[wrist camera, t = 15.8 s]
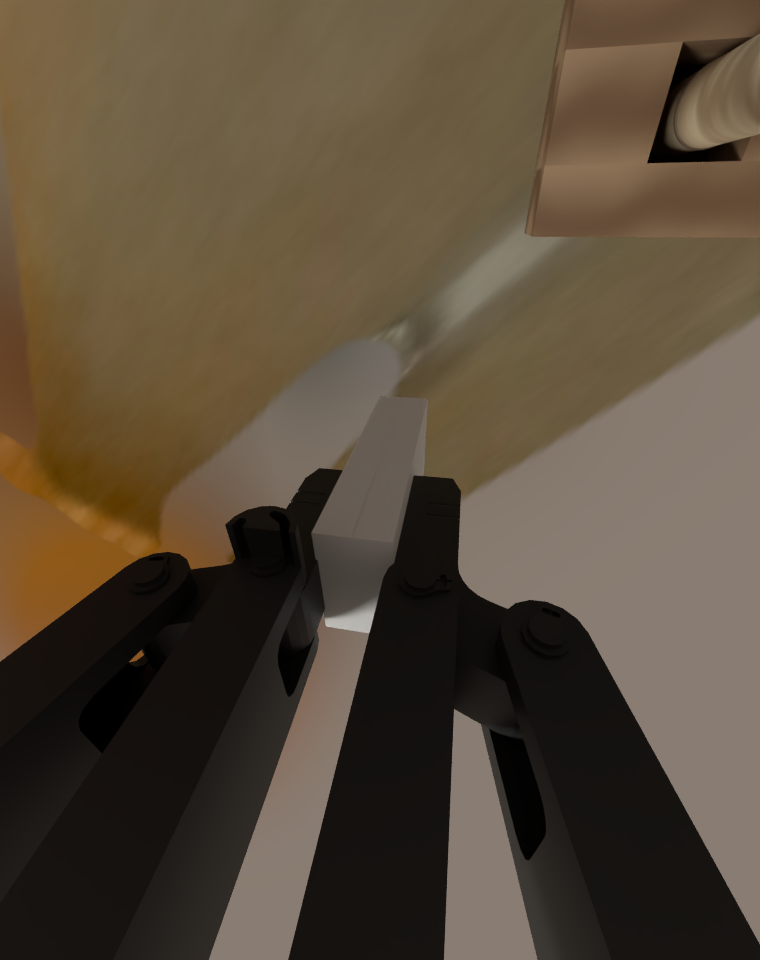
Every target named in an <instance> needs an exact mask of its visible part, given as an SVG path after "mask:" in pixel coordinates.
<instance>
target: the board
mask: <svg viewBox="0 0 760 960" xmlns="http://www.w3.org/2000/svg"><path fill="white" fill-rule="evenodd" d="M759 33H760V0H565V2H564V8H563V14H562V20H561V25H560V31H559V37H558V43H557V49H556V54H555V60H554V66H553V72H552V78H551V83H550V89H549V95H548V101H547V107H546V112H545V118H544V124H543V130H542V136H541V141H540V147H539V153H538V159H537V165H536V170H535V176H534V182H533V188H532V194H531V199H530V205H529V211H528V217H527V223H526V228H525V234H528V235H530V236H538V237H760V134H758V135H754V136H751V137H747V138H743V139H739V140H735V141H732V142H728V143H724V144H720V145H718V146H715V147H712V148H710V150H709V153H708V156H707V158H706V161H705V162H681V163H647V162H648V158H649V155H650V151H651V148H652V145H653V141H654V138H655V135H656V131H657V128H658V124H659V121H660V118H661V114H662V111H663V108H664V104H665V101H666V97H667V94H668V91H669V87H670V84H671V81H672V77H673V74H674V70H675V67H676V66H690V65H707V64H709V63H710V62H712V61H713V60H715V59H717V58H719V57H721V56H724V55H725V54H727V53H728V52H730V51H732V50H733V49H735V48H737V47H738V46H740V45H741V44H743V43H745V42H746V41H748V40H750V39H751V38H753V37H755V36H756V35H758V34H759Z"/></svg>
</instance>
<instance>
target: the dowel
mask: <svg viewBox="0 0 760 960" xmlns="http://www.w3.org/2000/svg"><path fill="white" fill-rule="evenodd" d="M758 134H760V33H759V34H758V35H756V36H755V37H753V38H751V39H750V40H748V41H746V42H745V43H743V44H741V45H740V46H738V47H737V48H735V49H733V50H732V51H730V52H728V53H727V54H725V55H724V56H721V57H719V58H717V59H715V60H713V61H712V62H710V63H709V64H707V65H706V66H704V67H703V68H702V69H701V70H699V71H698V72H696V73H694V74H693V75H691V76H689V77H688V78H686V79H685V80H683V81H681V82H680V83H678V84H676V85H675V86H673V87H672V88H670V89H669V91H668V94H667V97H666V101H665V104H664V108H663V111H662V114H661V118H660V121H659V124H658V128H657V131H656V135H655V138H654V141H653V145H652V148H651V152H652V153H653V154H654V155H656V156H658V157H662V158H670V157H674V156H678V155H682V154H686V153H690V152H693V151H697V150H705V149H709V148H712V147H715V146H718V145H720V144H724V143H728V142H732V141H735V140H739V139H743V138H747V137H751V136H754V135H758Z"/></svg>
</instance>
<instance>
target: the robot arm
mask: <svg viewBox="0 0 760 960" xmlns="http://www.w3.org/2000/svg"><path fill="white" fill-rule="evenodd" d="M427 400H428V399H422V398H404V397H386V396H380V398H379V400H378V402H377V404H376V406H375V408H374V410H373V412H372V414H371V416H370V418H369V420H368V422H367V424H366V426H365V428H364V430H363V432H362V434H361V436H360V437H359V439H358V441H357V443H356V445H355V447H354V449H353V451H352V453H351V455H350V457H349V459H348V461H347V463H346V465H345V467H344V469H343V470H333V469H322V468H319V469H318V470H316V471H315V472H314V473H312V474H311V475H309V476H308V477H306V478H305V480H304V481H303V483H302V485H301V486H300V488H299V489H298V493H296V494H295V496H294V497H293V499H292V500H291V503H290V504H289V505H288V507H287V508H286V509H284V508H280V507H276V506H261V507H257V508H253V509H249V510H246V511H244V512H242V513H240V514H238V515H237V516H235V517H234V518H232V519H231V520H230V521H229V522H228V523H227V524H226V529H227V532H228V535H229V538H230V541H231V544H232V548H233V551H234V554H235V557H236V558H235V560H234V561H233V563H232V564H227V565H222V566H215V567H207V568H199V569H191V568H190V566H189V563H188V561H187V559H186V558H184V557H183V556H181V555H180V554H176V553H171V552H164V553H156V554H152V555H149V556H146V557H143V558H140V559H138V560H137V561H135V562H133V563H132V564H130V565H128V566H127V567H125V568H124V569H123V570H121V571H120V572H118V573H117V574H116V575H115V576H113V577H112V578H110V579H109V580H108V581H107V582H105V583H104V584H103V585H101V586H100V587H99V588H97V589H96V590H95V591H93V592H92V593H91V594H89V595H88V596H87V597H85V598H84V599H83V600H81V601H80V602H79V603H77V604H76V605H75V606H73V607H72V608H71V609H70V610H68V611H67V612H66V613H64V614H63V615H62V616H60V617H59V618H58V619H56V620H55V621H54V622H52V623H51V624H50V625H48V626H47V627H46V628H44V629H43V630H42V631H40V632H39V633H38V634H36V635H35V636H34V637H32V638H31V639H30V640H28V641H27V642H26V643H24V644H23V645H22V646H20V647H19V648H18V649H17V650H15V651H14V652H13V653H12V654H10V655H9V656H7V657H6V658H5V659H3V660H2V661H1V662H0V960H209V957H210V954H211V951H212V948H213V946H214V943H215V940H216V937H217V934H218V931H219V928H220V926H221V923H222V920H223V917H224V914H225V911H226V909H227V906H228V903H229V900H230V897H231V894H232V892H233V889H234V886H235V883H236V880H237V877H238V875H239V872H240V869H241V866H242V863H243V860H244V857H245V855H246V852H247V849H248V846H249V843H250V840H251V838H252V835H253V832H254V829H255V826H256V823H257V820H258V817H259V815H260V812H261V809H262V806H263V803H264V801H265V798H266V795H267V792H268V789H269V786H270V784H271V781H272V778H273V775H274V772H275V769H276V766H277V764H278V761H279V758H280V755H281V752H282V749H283V746H284V743H285V741H286V738H287V735H288V732H289V730H290V727H291V724H292V721H293V718H294V715H295V712H296V710H297V707H298V704H299V701H300V698H301V695H302V692H303V690H304V687H305V684H306V681H307V678H308V675H309V672H310V670H311V667H312V664H313V661H314V658H315V656H316V653H317V649H318V642H319V639H318V634H317V628H318V625H319V623H320V620H321V617H322V615H323V612H324V617H325V623H326V626H327V627H334V628H340V629H347V630H352V631H359V632H365V633H369V637H368V641H367V645H366V650H365V653H364V657H363V661H362V665H361V669H360V674H359V678H358V682H357V685H356V689H355V694H354V697H353V702H352V705H351V709H350V714H349V717H348V722H347V726H346V730H345V734H344V738H343V742H342V746H341V750H340V754H339V758H338V762H337V766H336V770H335V774H334V778H333V782H332V786H331V790H330V794H329V798H328V802H327V806H326V810H325V814H324V818H323V822H322V826H321V830H320V834H319V838H318V842H317V847H316V850H315V854H314V858H313V862H312V866H311V870H310V874H309V879H308V883H307V886H306V891H305V895H304V899H303V903H302V907H301V911H300V915H299V919H298V923H297V927H296V931H295V935H294V939H293V943H292V947H291V951H290V955H289V959H288V960H444V942H445V916H446V890H447V867H448V841H449V817H450V792H451V767H452V766H451V764H452V742H453V716H454V709H455V710H457V711H459V712H461V713H462V714H464V715H466V716H468V717H470V718H471V719H473V720H475V721H477V722H479V723H480V724H481V726H482V730H483V734H484V738H485V742H486V747H487V751H488V755H489V759H490V763H491V767H492V772H493V776H494V780H495V784H496V788H497V793H498V797H499V801H500V805H501V809H502V813H503V817H504V822H505V825H506V830H507V834H508V838H509V842H510V847H511V851H512V855H513V859H514V863H515V867H516V871H517V875H518V880H519V884H520V888H521V892H522V896H523V901H524V905H525V909H526V913H527V917H528V921H529V925H530V930H531V934H532V938H533V942H534V946H535V950H536V955H537V959H538V960H760V944H759V942H758V941H757V939H756V937H755V935H754V933H753V931H752V929H751V928H750V926H749V924H748V922H747V921H746V919H745V917H744V915H743V913H742V912H741V910H740V908H739V906H738V904H737V902H736V900H735V899H734V897H733V895H732V893H731V891H730V890H729V888H728V886H727V884H726V882H725V880H724V879H723V877H722V875H721V873H720V871H719V870H718V868H717V866H716V864H715V862H714V861H713V859H712V857H711V855H710V853H709V851H708V850H707V848H706V846H705V845H704V843H703V841H702V839H701V837H700V835H699V833H698V832H697V830H696V828H695V826H694V824H693V822H692V821H691V819H690V817H689V815H688V813H687V812H686V810H685V808H684V806H683V804H682V802H681V801H680V799H679V797H678V795H677V793H676V792H675V790H674V788H673V786H672V784H671V783H670V781H669V779H668V777H667V775H666V773H665V771H664V770H663V768H662V766H661V764H660V762H659V761H658V759H657V757H656V755H655V753H654V751H653V750H652V748H651V746H650V744H649V743H648V741H647V739H646V737H645V735H644V733H643V732H642V730H641V728H640V726H639V724H638V722H637V721H636V719H635V717H634V715H633V713H632V712H631V710H630V708H629V706H628V704H627V703H626V701H625V699H624V697H623V695H622V694H621V692H620V690H619V688H618V686H617V684H616V683H615V681H614V679H613V677H612V675H611V674H610V672H609V670H608V668H607V666H606V664H605V662H604V661H603V659H602V657H601V655H600V654H599V652H598V650H597V648H596V646H595V644H594V643H593V641H592V639H591V637H590V635H589V633H588V632H587V631H586V630H585V628H584V627H583V626H582V624H581V623H580V622H579V621H578V619H576V618H575V617H574V616H572V615H571V614H570V613H568V612H567V611H566V610H564V609H563V608H560V607H558V606H555V605H553V604H550V603H548V602H543V601H534V600H528V601H523V602H519V603H515V604H514V605H513V606H511V607H510V608H509V609H506V608H504V607H501V606H499V605H497V604H494V603H492V602H489V601H487V600H486V599H484V598H482V597H480V596H478V595H477V594H476V593H474V592H473V591H472V590H471V589H469V588H468V587H467V585H466V584H465V583H464V581H463V580H462V578H461V576H460V574H459V570H458V548H459V523H460V520H459V519H460V499H461V491H460V489H459V488H458V486H457V484H456V483H455V481H454V480H453V479H450V478H439V477H427V476H423V475H424V460H425V440H426V420H427ZM141 650H142V652H143V653H144V656H142V657H141V658H140V659H138V660H137V661H134V662H129V661H130V660H131V659H132V658H133V657H134V656H135V655H136V654H137V653H138V652H139V651H141Z"/></svg>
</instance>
